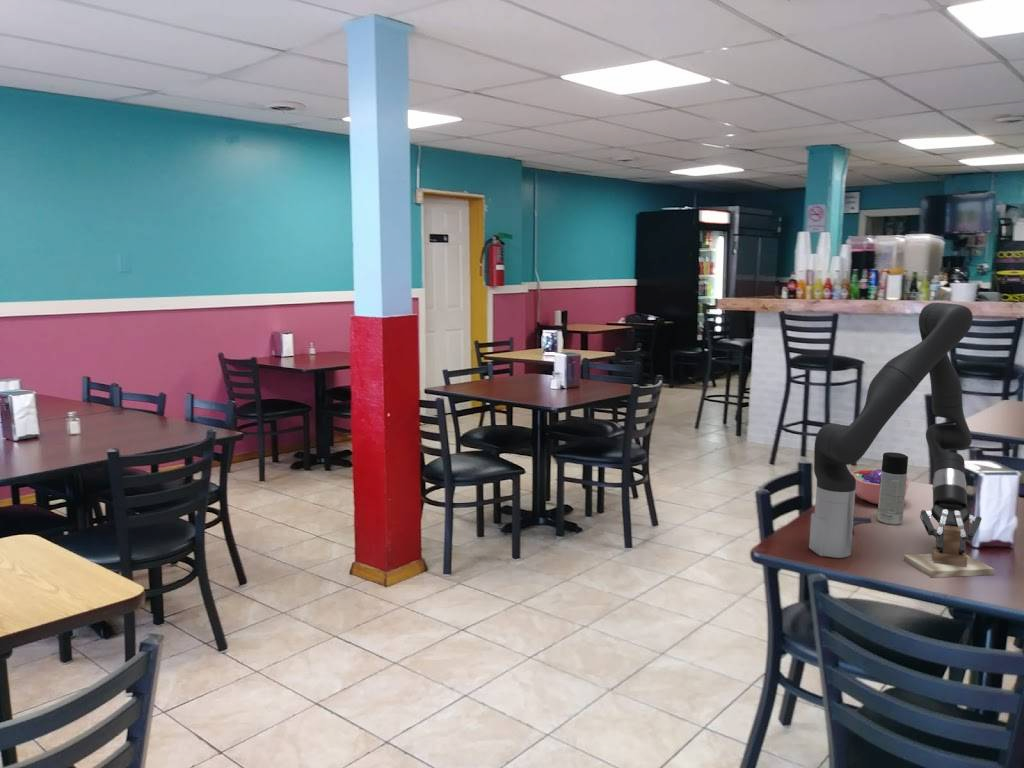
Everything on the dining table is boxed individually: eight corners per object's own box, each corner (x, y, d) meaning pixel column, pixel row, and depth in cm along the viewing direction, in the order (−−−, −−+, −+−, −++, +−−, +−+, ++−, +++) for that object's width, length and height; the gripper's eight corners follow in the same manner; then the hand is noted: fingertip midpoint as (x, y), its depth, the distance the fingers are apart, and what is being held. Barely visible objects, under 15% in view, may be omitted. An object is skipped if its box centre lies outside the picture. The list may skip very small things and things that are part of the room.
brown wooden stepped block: (933, 562, 191) (936, 529, 190) (931, 555, 196) (934, 523, 194) (966, 567, 188) (969, 533, 187) (963, 560, 193) (966, 526, 192)
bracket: (822, 534, 218) (823, 525, 217) (817, 518, 232) (817, 509, 231) (879, 540, 214) (880, 530, 213) (869, 523, 228) (870, 514, 228)
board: (931, 577, 186) (931, 571, 186) (903, 560, 197) (903, 554, 196) (993, 574, 188) (994, 568, 188) (962, 558, 199) (962, 552, 198)
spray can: (896, 518, 231) (901, 451, 228) (907, 525, 224) (912, 457, 221) (873, 517, 231) (878, 451, 228) (883, 525, 224) (888, 457, 221)
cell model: (911, 498, 251) (914, 464, 249) (904, 514, 234) (907, 478, 233) (854, 490, 260) (856, 457, 258) (843, 505, 243) (846, 470, 241)
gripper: (920, 480, 199) (920, 541, 190) (984, 486, 194) (987, 549, 184) (916, 494, 205) (916, 554, 195) (979, 501, 199) (981, 563, 190)
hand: (951, 551), depth 190 cm, fingers closed on brown wooden stepped block, 3 cm apart
